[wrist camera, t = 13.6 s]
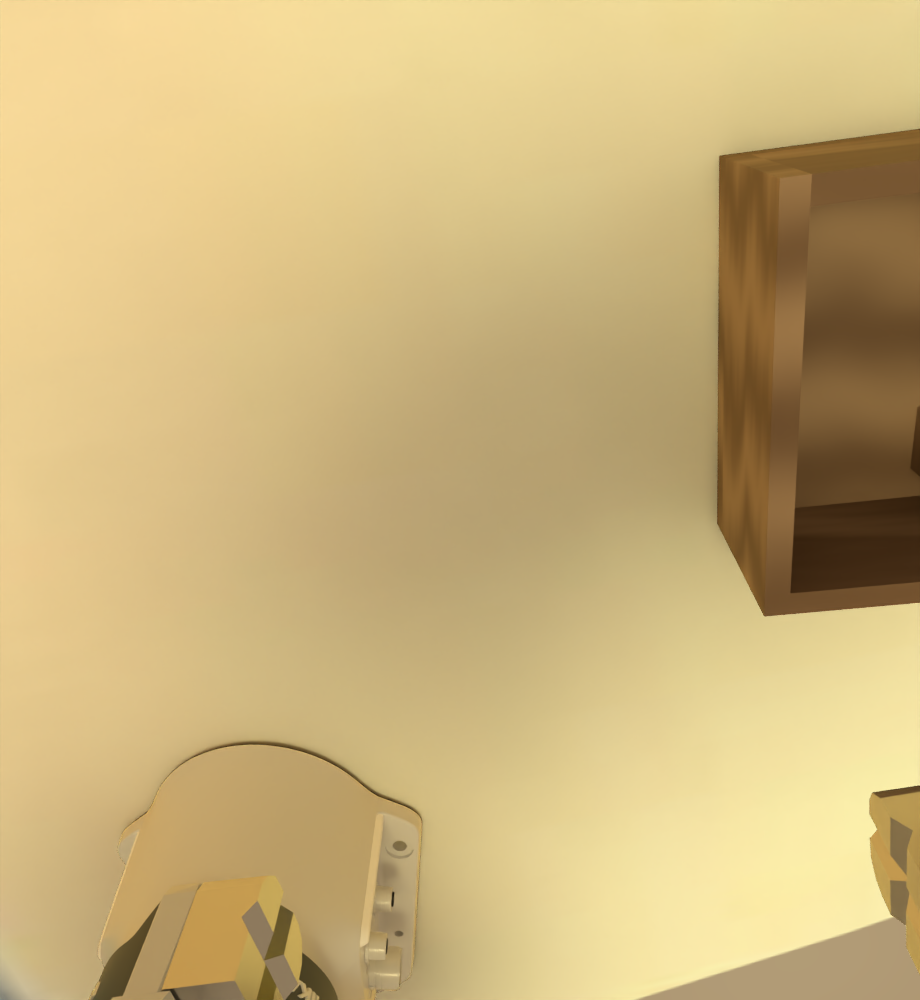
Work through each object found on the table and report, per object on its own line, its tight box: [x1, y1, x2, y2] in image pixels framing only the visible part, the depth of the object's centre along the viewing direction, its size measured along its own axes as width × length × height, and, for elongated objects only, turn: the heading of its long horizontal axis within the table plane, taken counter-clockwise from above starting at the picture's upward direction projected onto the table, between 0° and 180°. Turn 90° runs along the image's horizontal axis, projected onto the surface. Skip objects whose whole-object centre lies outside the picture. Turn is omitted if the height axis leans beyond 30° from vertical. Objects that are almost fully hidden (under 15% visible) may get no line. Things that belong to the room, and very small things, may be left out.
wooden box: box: [717, 129, 920, 616], centre depth 34 cm, size 17×14×8 cm
